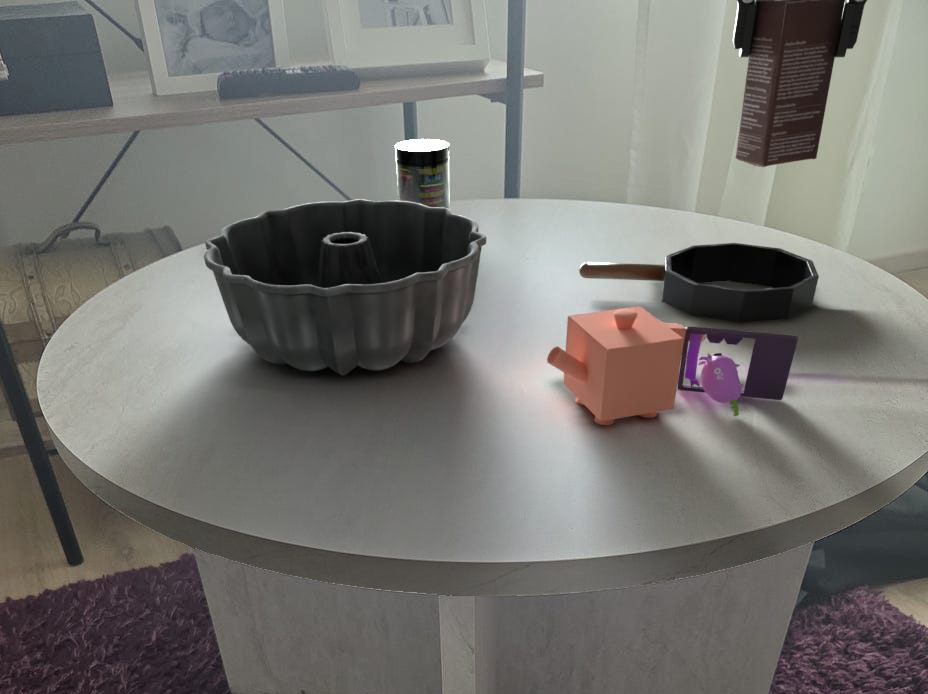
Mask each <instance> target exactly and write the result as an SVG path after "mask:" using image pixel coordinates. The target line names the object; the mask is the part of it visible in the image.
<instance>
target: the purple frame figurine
mask: <svg viewBox="0 0 928 694" xmlns="http://www.w3.org/2000/svg"><path fill="white" fill-rule="evenodd" d="M685 328H686V334H685V339H684V345H683V351H682V356H681V362H680V369H679V375H678V382H677V390H679V391H685V392H693V393H694V392H696V393H703V394H704V393H705V394H706V395H707V396H708V397H709V398H710V399H711V400H713V401H714V402H717V403H721V404H730V408H732V409H731V412H733V417H738V416H739V414H740V411H739V410H740V409H739V406H738V405H739V404H738V402H737V400H738V399H739V398H740V397H745V398H756V399H766V400H775V401H781V400H783V398H784V394H785V392H786V391H785V390H786V387H787V383H788V379H789V375H790V372H791V369H792V365H793V361H794V357H795V353H796V349H797V345H798V342H799V336H798V335H796V334H784V333H772V332H762V331H761V332H760V331H749V330H738V329H726V328H725V329H724V328H714V327H713V328H712V327H702V326H690V325H688V326H685ZM706 338H707V340H708V343H709V344H720V343H721V342H723V340H724V341H725V343H726V345H729V346H730V345H732V346H737V345H739V343H741V341H743V339H751V340H754V343H753V348H752V352H751V357H750V361H749V365H748V370H747V375H746V379H745V383H744V384H743V383H741V381H740V377H739V371H738V367H740V365H741V364H739V363H736V362H735V361H734V360H733V358H731V357H729V356H728V355H724V354H723V353H722V352H718V353H714V354H713V356H712V355H711V353H707V354H706V355H707V356H701V357H699V353H700V350H701V345H702V342H703V341H705V340H706ZM699 361H700V362H699ZM698 362H699V363H698ZM702 365H703V367H702V370H701V372H700V382H699V379H697V378H696V377H697V370H698V369H697V368H698V366H702ZM684 378H685V379H687V380H689V382H690V385H687V384H685V385H684ZM700 384H701V386H700ZM694 385H695V386H694ZM742 388H744V390H742Z"/></svg>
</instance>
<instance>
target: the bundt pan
mask: <svg viewBox="0 0 928 694" xmlns="http://www.w3.org/2000/svg"><path fill="white" fill-rule="evenodd" d="M479 229H480V227H479V223H478V222H476V220H474V219H472V218H470V217H467V216H465V215H460V214H455V213H453V212H452V211H451V208H450V209H448V208H436V207H428V206H426V205H423V204H419V203H414V202H408V201H398V200H377V201H376V200H375V201H374V200H369V199H363V198H356V199H353V200H352V199H351V200H346V201H315V202H308V203H303V204H298V205H293V206H290V207H287V208H284V209H274V210H272V209H271V210H264V211H263V212H261V213H259V214H258V215H257V216H254V217H248V218H245V219H241V220H238V221H237V220H236V221H235V222H232V223H230V224H228V225H226V226H224V227H223V228H222V229H221V230H220V232H219V234H218V235H217V236H215V237H212V238H209V239H207V240H205V242H204V243H205V247H206V251H205V252H204V255H203V259H204V264H205V267H207V268H208V269H209V270H210V271H212V273H213V276H214V279H215V281H216V284H217V287H218V290H219V293H220V297H221V299H222V301H223V305H224V308H225V310H226V313H227V315H228V319H229V321H230V323H231V326H232V327H233V329H234V331H235V333H236V334H237V335H238V336H239V337H240V338H241V339H242V340H243V341H244V342H245V343H246V344H248V345H249V346H251V348H252V349H253V350H254V352H255V353H256V354H257V355H258V356H259V357H260V358H262V359H263V360H265V361H267V362H268V363H272V364H276V365H289V366H291V367H292V368H293V369H294V368H295V369H297V370H299V371H305V372H316V371H321V370H325V369H326V368H329V369H331V370H332V371H334V372H335V373H337V374H338V375H340V376H346V375H348V374H349V373H350V372H351V371H352V370H354V369H355V368H357V367H360V368H362V369H364V370H365V369H366V370H367V371H368V370H369V371H383V370H387V369H390V368H391V367H394V366H395V365H397V364H398V363H399V362H400V361H401V362H405V363H407V364H414V363H418V362H420V361H423V360H424V359H425V358H426V357H428V355H429V354H430V352H431V351H433V350H436V349H439V348H441V347H443V346H444V345H446V344H447V343H448V342H450V341H451V340H452V339H453V338H455V336H456V334H457V333H458V332H459V330H460V329H461V326H462V324H464V322H465V321H466V320H467V318H468V316H469V314H470V312H471V310H472V308H473V305H474V301H475V295H476V289H477V288H476V287H477V282H478V274H479V268H480V261H481V252H482V247H483V246H485V245H486V244H487V235H485V234H482V233H480V232H479Z"/></svg>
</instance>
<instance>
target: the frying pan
mask: <svg viewBox="0 0 928 694" xmlns="http://www.w3.org/2000/svg"><path fill="white" fill-rule="evenodd" d="M664 257H665V258H664V263H663V264H656V263H655V264H653V263H652V264H651V263H624V262H623V263H622V262H592V261H586V262H583V263H582V264H581V265H580V267H579V269H578V272H579V275H580V277H582V278H583V279H595V280H596V279H599V280H622V281H623V280H624V281H625V280H626V281H647V282H648V281H649V282H650V281H651V282H661V288H660V303H662V304H663V303H664V304H668V305H669V306H671V307H673V308H675V309H678V310H679V311H682V312H683V313H685V314H687V315H689V316H692V317H699V318H705V319H711V320H718V321H725V322H730V323H738V324H744V323H745V324H747V323H757V322H758V323H759V322H760V323H761V322H771V321H785V320H789V319H791V318H794V317H795V316H796V315H798V314H800V313H803V312H804V311H806V310H808V309H812V307H813V304H814V299H815V294H816V290H817V286H818V282H819V278H820V277H819V273H818V271H817V269H816V266H815V263H814V261H813V260H812V259H808V258H806V257H803V256H801V255H798V254H795V253H793V252H790V251H788V250H785V249H782V248H779V247H772V246H764V245H755V244H748V243H747V244H746V243H741V242H740V243H738V242H728V243H727V242H726V243H712V244H697V245H691V246H688V247H685V248H683V249H680V250H678V251H675V252H673V253H670V254H667V255H666V256H664ZM723 282H724V283H725V282H731V283H732V282H733V283H739V284H747V285H753V286H754V285H755V286H761V287H768V288H755V289H741V288H733V287H726V286H719V285H712V283H723ZM708 283H709V284H708ZM710 283H711V284H710Z"/></svg>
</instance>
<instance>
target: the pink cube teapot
mask: <svg viewBox="0 0 928 694" xmlns="http://www.w3.org/2000/svg"><path fill="white" fill-rule="evenodd" d="M566 322H567V323H566V339H565V350H564V349H563V348H561V347H560V346H555V347H553V348H552V349H551V350H550V352H549V353H548V355H547V357H546V360H547V364H549V365H550V366H552V367H554V368H556V369H557V370H559V371H561V372H563V384H564V386H565V387H566V388H567V389H568V390H569V391H570V392H571V393H572V394H573V395H574V396H575V397H576V398H575V403H576V404H578V405H581V406H585V407H586V408H587V409H588V410H589V411H590V412H591V413H592V414H593V415H594V417H595V418H594V422H595V423H596V424H597V425H602V426H609V425H612V424H614V423H615V420H616V419H622V418H628V417H634V416H640V417H643V418H647V419H648V418H649V419H650V418H655V417H657V416H658V412H664V411H670V410H674V408H675V401H676V395H677V390H678V388H677V387H678V379H679V372H680V364H681V357H682V351H683V345H684V339H685V334H686V326H684V325H682V324H681V323H679V322H678V323H676V322H662V321H661V320H659V319H658V318H657V317H656V316H655V315H653V314H652V313H650V312H649V311H647V310H646V309H644V308H643V307H642V306H640V305H637V306H631V307H623V308H616V309H615V308H614V309H608V310H599V311H594V312H586V313H580V314H571V315H568V316H567V320H566Z"/></svg>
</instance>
